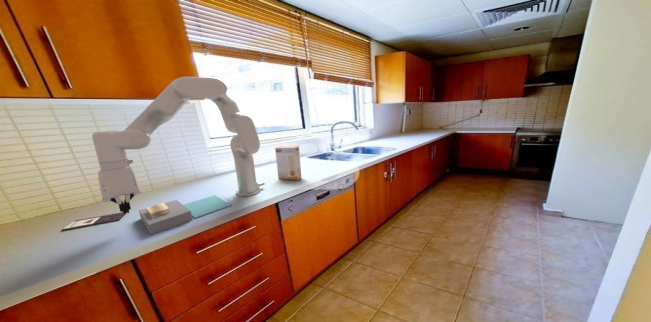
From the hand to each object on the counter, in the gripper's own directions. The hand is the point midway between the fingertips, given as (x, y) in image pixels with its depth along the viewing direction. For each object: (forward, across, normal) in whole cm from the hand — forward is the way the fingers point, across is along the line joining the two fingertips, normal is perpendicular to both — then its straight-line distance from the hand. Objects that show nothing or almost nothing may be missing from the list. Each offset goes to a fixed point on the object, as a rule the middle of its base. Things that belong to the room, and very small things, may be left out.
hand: (126, 212), depth 84 cm
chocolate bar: (+9, +8, -24) cm, 27 cm away
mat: (+7, -28, 0) cm, 29 cm away
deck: (+8, -12, 0) cm, 14 cm away
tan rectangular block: (+4, -10, 0) cm, 10 cm away
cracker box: (+7, -79, 0) cm, 79 cm away
